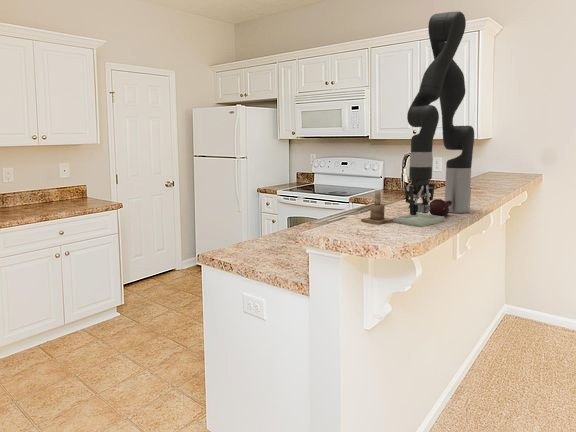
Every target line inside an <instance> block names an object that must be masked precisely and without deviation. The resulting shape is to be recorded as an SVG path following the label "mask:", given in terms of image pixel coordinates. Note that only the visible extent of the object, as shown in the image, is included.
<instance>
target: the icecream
mask: <svg viewBox="0 0 576 432" xmlns="http://www.w3.org/2000/svg"><path fill="white" fill-rule="evenodd" d="M451 204H452V201H450V200H449V201H446V202H445V200H443V199H441V198H435V199H433V200H431V201H430V202H429V207H430V210H429V212H430V215H435V216H442V217H445V216H447V215H448V214H449V213H450V212H448V211H449V208H448V207H449V206H450V205H451Z"/></svg>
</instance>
